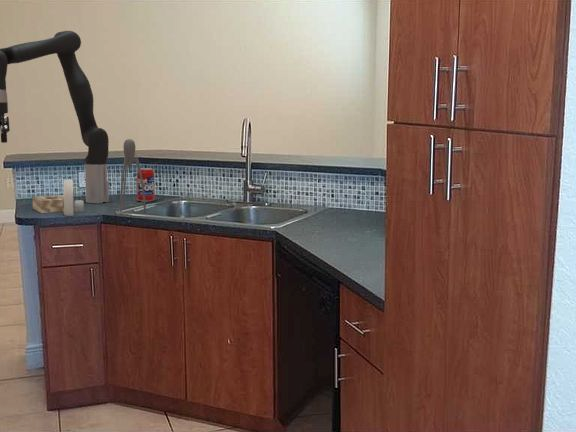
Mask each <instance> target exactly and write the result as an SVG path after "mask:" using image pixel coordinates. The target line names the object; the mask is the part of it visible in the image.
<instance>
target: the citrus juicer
mask: <svg viewBox="0 0 576 432" xmlns="http://www.w3.org/2000/svg"><path fill="white" fill-rule="evenodd" d="M123 153H124V158H123V164H122V165H123V166H122V172H121V182H120V194H119V197H120V198H119V213H120V212H123V210H126V187H127V186H126V185H127V172H128V171H129V172H130V171H131V168H132V165H133V164H135V165H136V167H137V171H139V176H140V181H141V186H142V193H143V202H142V203H143V212H146V211H147V210H146V209H147V205H146V204H147V202H145V192H144V185H143V179H142V173H141V169H140V168H141V165H140V160H139V157H138V156H136V157H135V155H136V143H135V141H134V140H133V139H131V138H130V139H129V138H127V139H125V140H124V142H123ZM127 169H128V171H127ZM122 208H124V209H122Z"/></svg>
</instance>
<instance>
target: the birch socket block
mask: <svg viewBox="0 0 576 432" xmlns="http://www.w3.org/2000/svg"><path fill="white" fill-rule="evenodd" d="M31 199H32V210H34V211H36V212H38V213H40V214H51V213H62V212H63V213H64V195H47V196H46V195H45V196H32V198H31Z"/></svg>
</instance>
